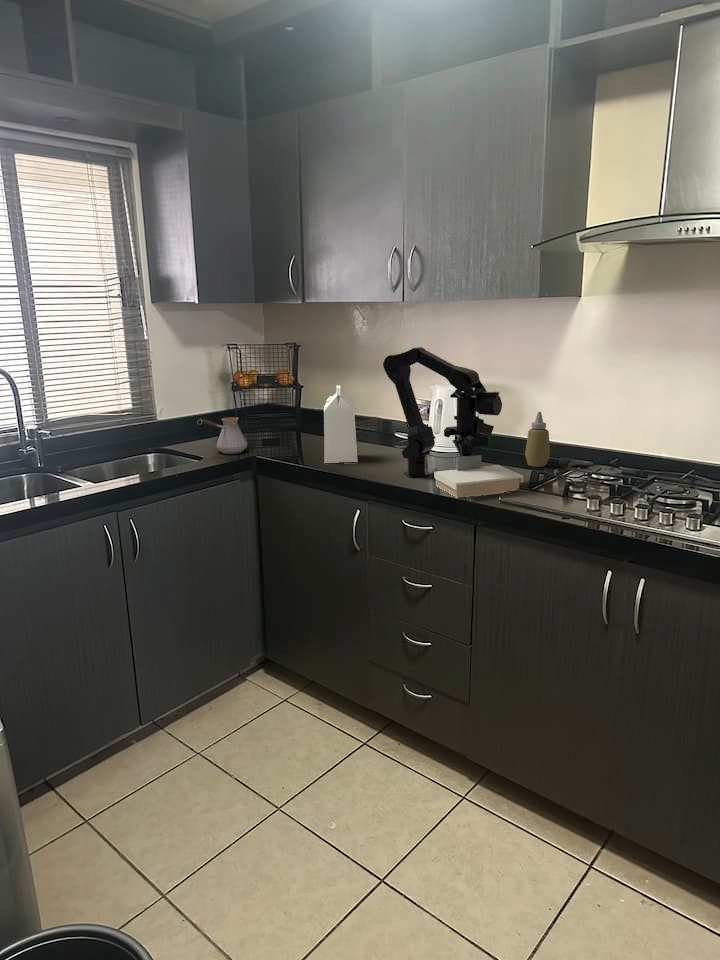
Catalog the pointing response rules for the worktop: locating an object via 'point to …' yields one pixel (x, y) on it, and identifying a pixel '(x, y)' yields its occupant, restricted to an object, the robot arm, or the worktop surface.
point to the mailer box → (480, 488)
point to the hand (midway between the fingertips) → (465, 463)
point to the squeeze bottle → (538, 443)
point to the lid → (474, 472)
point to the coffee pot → (229, 436)
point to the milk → (339, 430)
